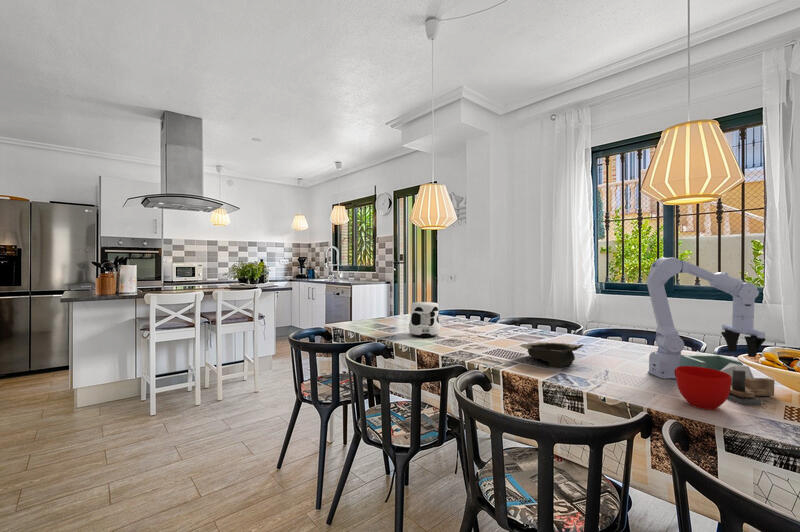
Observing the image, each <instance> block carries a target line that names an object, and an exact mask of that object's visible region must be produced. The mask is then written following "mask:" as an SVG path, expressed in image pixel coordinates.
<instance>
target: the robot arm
mask: <svg viewBox="0 0 800 532" xmlns="http://www.w3.org/2000/svg"><path fill="white" fill-rule="evenodd" d="M679 273H680V274H685V273H686V274H688V275H690V276H691V275H692V276H693V277H697V278H699V279H702V280H705V281H707V282H708V283H709V285H710V287H712V288H715V289H717V290H720V291H722V292H724V293H727V294H729V295H731V297H732V315H731V317H732V318H731V319H732V321H731V324H732V325H731V324H722V325H721V330H722V331H721V333H720V334H721V335H722V337H723V338H724V340H725V343H726V346H727V350H728V352H731V353H733V352H734V353H735V352H737V347H738V340H739V337H740V335H741V334H742V335H745V336H744V340H745V343H746V347H747V356H748V357H749V358H756V357H757V354H758V352H759V349H760V348H761V346H762V345H763V343H765V342H766V332H764V331H761V330H757V329H756V328H754V326H755V324H754V322H755V304H756V303H755V300H756V298H758V296H759V295H760V291H759V290H758V288H757V286H756V285H755V284H753V283H750V282H744V281H743V279H742V278H736V277H733V276H730V275H729V273H728V272H725V271H723V272H721V271H720V272H719V271H718V272H716V273H715V272H714V273H713V272H711V271H709V270H707V269H705V268H702V267H700V266H699V265H697V264H696V265H695V264H693V263H691V262H688V261H686V260H682V259H678V258H676V257H659V258H658V259H656V260H655V261H654V262H653V263H652V264H651V265H650V269H649V273H648V275H647V278H646V285H647V290H648V294H649V298H650V301H651V306H652V310H653V314H654V317H655V323H656V325H657V327H656V329H655V331H656V336H655V343H656V344H657V346H658V347H657V350H656V351H653V352H650V354H649V357H648V370H647V373H649V374H651V375H654V376H656V377H658V378H660V379H676V376H675V369H676V368H677V367H680V366H681V355H682V351H683V350H684V349H685V341H684V340H683V339H682V338H681V337H680V335H679V332H678V330H677V329H676V327H675V324H674V321H673V316H672V313H671V309H670V304H669V301H668V296H667V293H666V289H665V287H666V286H665V284H666V283H667V282H668V281H669V279H671V278H672V277H675V276H676V275H677V274H679ZM748 357H747V358H748Z"/></svg>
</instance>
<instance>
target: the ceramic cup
mask: <svg viewBox="0 0 800 532" xmlns="http://www.w3.org/2000/svg"><path fill="white" fill-rule="evenodd" d="M675 376H676V378H675V379H676V384H677V388H678V391H679V393H680V394H681V396H682V398H684V399H685V401H686V402H687V403H689V404H688V405H690V406H691V405H692V406H691V407H694V406H695V407H694V408H698V409H702V410H706V411H707V410H709V411H712V410H713V411H714V410H717V409H718V408H720V407H721V406H722V405H723V404H725V402H726V401H727V400H728V399H727V398H728V396H729V393H730V389H731V382H732V377H731V376H730V375H729V374H727V373H725V372H722V371H718V370H714V369H709V368H703V367H695V366H680V367H677V368H676V369H675Z"/></svg>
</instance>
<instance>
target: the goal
mask: <svg viewBox="0 0 800 532" xmlns="http://www.w3.org/2000/svg"><path fill="white" fill-rule="evenodd" d="M741 362H742V361H740V360H736V359H733V358H731V357H728V356H727V357H726V356H724V355H720V354H681V366H695V367H703V368H709V369H714V370H718V371H720V370H722V369H723V368H724V367H726V366H727V365H728V364H729V363H733V364H738V365H743V366H744V363H743V364H742V363H741Z"/></svg>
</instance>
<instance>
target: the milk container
mask: <svg viewBox="0 0 800 532" xmlns="http://www.w3.org/2000/svg"><path fill="white" fill-rule="evenodd" d="M408 330H409V331H408V332H409V333H410V334H411V335H412V336H414V337H420V338H424V337H425V338H431V337H435V336H438V335H439V333H440V331H441V325H440V321H439V303H437V302H431V301H416V302H415V301H414V302H411V303H410V319H409V324H408Z"/></svg>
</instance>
